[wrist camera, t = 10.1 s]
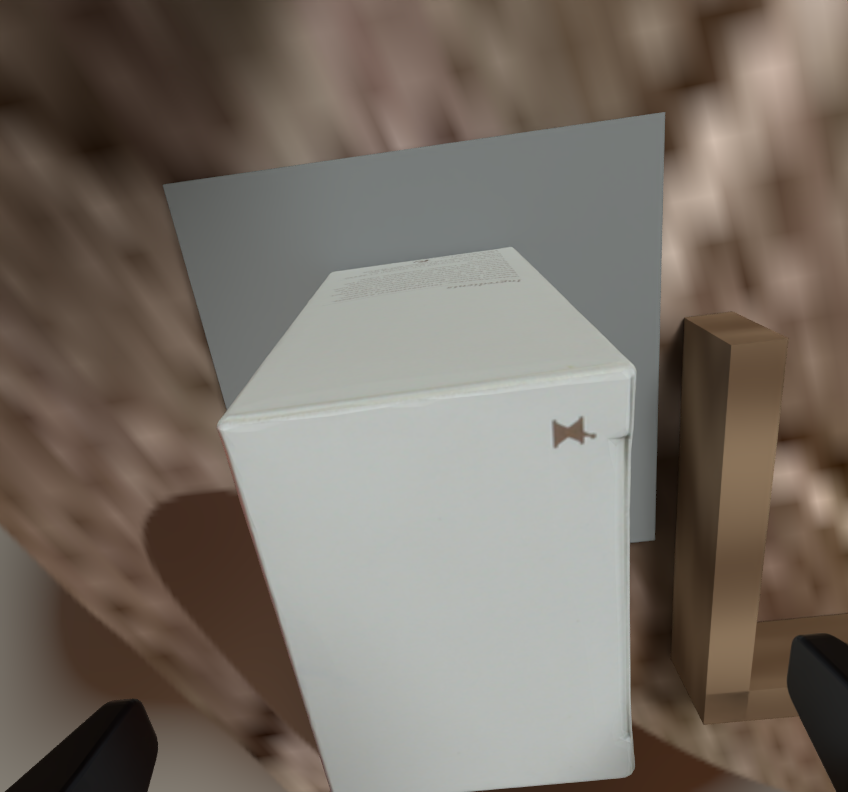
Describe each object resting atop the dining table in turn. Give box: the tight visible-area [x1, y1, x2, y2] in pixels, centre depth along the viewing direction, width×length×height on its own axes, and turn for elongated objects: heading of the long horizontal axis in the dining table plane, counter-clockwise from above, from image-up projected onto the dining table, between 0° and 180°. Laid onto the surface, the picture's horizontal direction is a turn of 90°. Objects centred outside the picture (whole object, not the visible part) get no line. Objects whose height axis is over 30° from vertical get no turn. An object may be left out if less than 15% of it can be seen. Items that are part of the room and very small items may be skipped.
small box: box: [217, 247, 637, 792], centre depth 13 cm, size 8×6×10 cm
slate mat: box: [163, 112, 665, 543], centre depth 19 cm, size 14×14×1 cm
